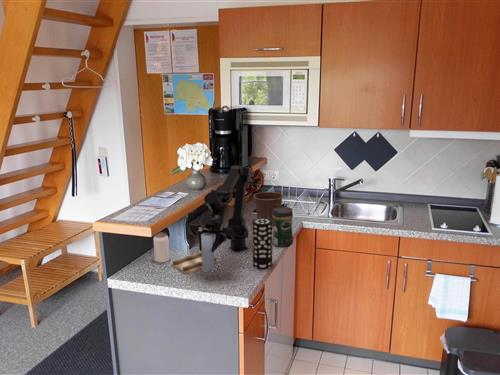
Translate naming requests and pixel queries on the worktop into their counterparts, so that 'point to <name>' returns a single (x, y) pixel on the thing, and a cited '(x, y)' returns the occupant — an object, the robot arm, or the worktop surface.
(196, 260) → the track
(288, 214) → the coffee jar
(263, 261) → the white-spotted black cylinder
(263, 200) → the plant pot
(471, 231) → the worktop surface
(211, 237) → the grey translucent cylinder
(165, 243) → the can
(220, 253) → the worktop surface
